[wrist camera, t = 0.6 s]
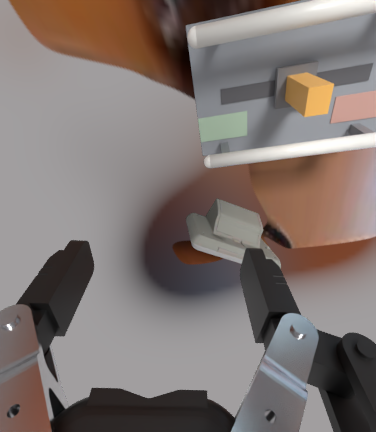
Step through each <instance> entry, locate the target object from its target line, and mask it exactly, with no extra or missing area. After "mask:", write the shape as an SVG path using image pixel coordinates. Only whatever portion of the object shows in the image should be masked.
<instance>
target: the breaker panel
mask: <svg viewBox="0 0 376 432" xmlns="http://www.w3.org/2000/svg"><path fill="white" fill-rule="evenodd" d="M186 32H187V40H188V48H189V55H190V63H191V70H192V78H193V86H194V93H195V101H196V108H197V116H198V124H199V132H200V139H201V147H202V154H203V156H206V155H208V156H206V157H205V158H204V165H205V166H206V167H207V168H217V167H225V166H232V165H240V164H248V163H256V162H264V161H272V160H280V159H287V158H295V157H303V156H311V155H319V154H327V153H334V152H342V151H350V150H358V149H366V148H373V147H376V0H301V1H296V2H292V3H287V4H282V5H278V6H273V7H268V8H264V9H259V10H255V11H250V12H245V13H241V14H236V15H232V16H227V17H222V18H218V19H213V20H209V21H204V22H199V23H195V24H190V25H186ZM311 61H319V64H318V70H317V77H319V78H322V79H324V80H327V81H329V82H331V83H334V87H333V92H332V96H331V101H330V106H329V110H328V114H323V115H316V116H309V117H304V116H302V115H301V114H300V113H299V112H298V111H297V110H295V109H294V108H293V107H287V108H281V109H274V108H273V106H274V92H275V77H276V68H278V67H283V66H289V65H294V64H300V63H305V62H311Z"/></svg>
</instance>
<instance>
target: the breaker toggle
mask: <svg viewBox="0 0 376 432" xmlns="http://www.w3.org/2000/svg"><path fill="white" fill-rule="evenodd" d="M318 64H319V61H311V62H305V63H300V64H294V65H289V66H283V67H278V68H276V77H275V92H274V106H273V108H274V109H281V108H287V107H293V108H294V109H295V110H297V111H298V112H299V113H300V114H301V115H302V116H304V117H309V116H316V115H323V114H328V110H329V106H330V101H331V96H332V92H333V87H334V83H331V82H329V81H327V80H324V79H322V78H319V77H317V70H318Z"/></svg>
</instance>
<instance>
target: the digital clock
mask: <svg viewBox="0 0 376 432" xmlns="http://www.w3.org/2000/svg"><path fill="white" fill-rule="evenodd" d="M186 223H187V227H188V231H189V236H190V240H191V243H192V246H193V248H195V249H197V250H199V251H202V252H205V253H209V254H212V255H215V256H218V257H222V258H225V259H228V260H231V261H234V262H238V263H241V264H242V261H243V257H244V253H245V250H246V248H261V249H262V250H263V252H264V254H265V257H266V259H272V260H273V261H274V262H275V263H276V264H277V265H278V266H279V267H280V268H281V263H280V260H279V259H278V258H277V256H276V255H275V254H274V253H273V252H272V251H271V249H270V247H268V246H267V245H266V244H265V243H264V241H263V240H262V239H261V234H262V232H263V226H262V223H261V220H260V217H259V214H257V213H255V212H252V211H250V210H247V209H244V208H241V207H239V206H236V205H233V204H231V203H228V202H225V201H223V200H220V199H216V200H215V202H214V204H213V205H212V207H211V209H210V210H209V212H208V213H207V215H206V217H205V216H202V215H199V214H195V213H192V214H189V215H188V216H187V217H186Z"/></svg>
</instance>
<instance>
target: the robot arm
mask: <svg viewBox="0 0 376 432" xmlns="http://www.w3.org/2000/svg"><path fill="white" fill-rule="evenodd" d="M93 271H94V261H93V257H92V253H91V249H90V245H89V242H88V241H76V240H71V241H70V242H69V243H68V245H67V246H66V248H65V249H64V250H59V251H58V252H56V253H55V254H53V255H52V256H51V257H50V258H49V259H48V260H47V262H46V263H45V265H44V266H43V268H42V269H41V270H40V271H39V273H38V275H37V276H36V277H35V279H34V280H33V281H32V283H31V284H30V285H29V287H28V288H27V290H26V291H25V293H24V294H23V295H22V297H21V298H20V299H19V301H18V302H17V304H16V305H12V306H9V307H7V308H5V309H3V310H1V311H0V432H299V429H300V425H301V421H302V417H303V413H304V409H305V405H306V401H307V395H308V393H307V391H306V384H307V383H308V384H310V385H313V386H315V387H318V388H319V391H320V394H321V397H322V400H323V403H324V405H325V408H326V411H327V414H328V417H329V420H330V423H331V426H332V428H333V431H334V432H376V344H375V343H374V342H372V341H371V340H370V339H368V338H367V337H365V336H363V335H361V334H358V333H347V334H345V335H344V336H343V338H340V337H337V336H334V335H331V334H328V333H325V332H322V331H319V330H317V329H316V328H315V326H314V325H313V324H312V323H311V322H310V321H309V320H308V319H307V318H305V317H304V316H302V315H301V313H300V312H299V309H298V307H297V305H296V303H295V300H294V298H293V296H292V294H291V292H290V289H289V287H288V285H287V282H286V280H285V278H284V277H283V274H282V271H281V269H280V267H279V266H278V265H277V264H276V263H275V262H274V261H273V260H272V259H266V257H265V254H264V252H263V250H262V249H261V248H246V250H245V253H244V257H243V261H242V265H241V269H240V280H241V284H242V288H243V293H244V297H245V301H246V305H247V309H248V313H249V318H250V322H251V326H252V330H253V334H254V338H255V342H256V343H264V347H265V350H266V351H265V353H264V355H263V357H262V359H261V362H260V364H259V366H258V368H257V371H256V373H255V375H254V377H253V379H252V381H251V384H250V386H249V388H248V390H247V392H246V394H245V397H244V399H243V401H242V403H241V405H240V407H239V410H238V412H237V414H236V416H235V418H234V417H233V416H232V415H231V414H230V413H229V412H228V411H227V410H226V409H225V408H223V407H222V406H221V405H219V404H217V403H216V402H214V401H212V400H209V399H207V391H204V390H177V391H174V392H170V393H167V394H163V395H160V396H157V397H154V398H145V397H142V396H139V395H137V394H134V393H131V392H128V391H125V390H123V389H117V388H116V389H115V388H92V389H91V393H90V396H89V397H88V398H85V399H82V400H80V401H78V402H76V403H74V404H72V405H71V406H69V405H68V402H67V399H66V396H65V394H64V391H63V389H62V386H61V382H60V378H59V374H58V370H57V367H56V362H55V359H54V355H53V351H52V347H51V342H52V340H53V338H54V336H65V333H66V331H67V329H68V327H69V325H70V323H71V320H72V318H73V316H74V314H75V312H76V309H77V307H78V305H79V303H80V301H81V298H82V296H83V294H84V292H85V289H86V287H87V285H88V283H89V281H90V279H91V277H92V274H93Z"/></svg>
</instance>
